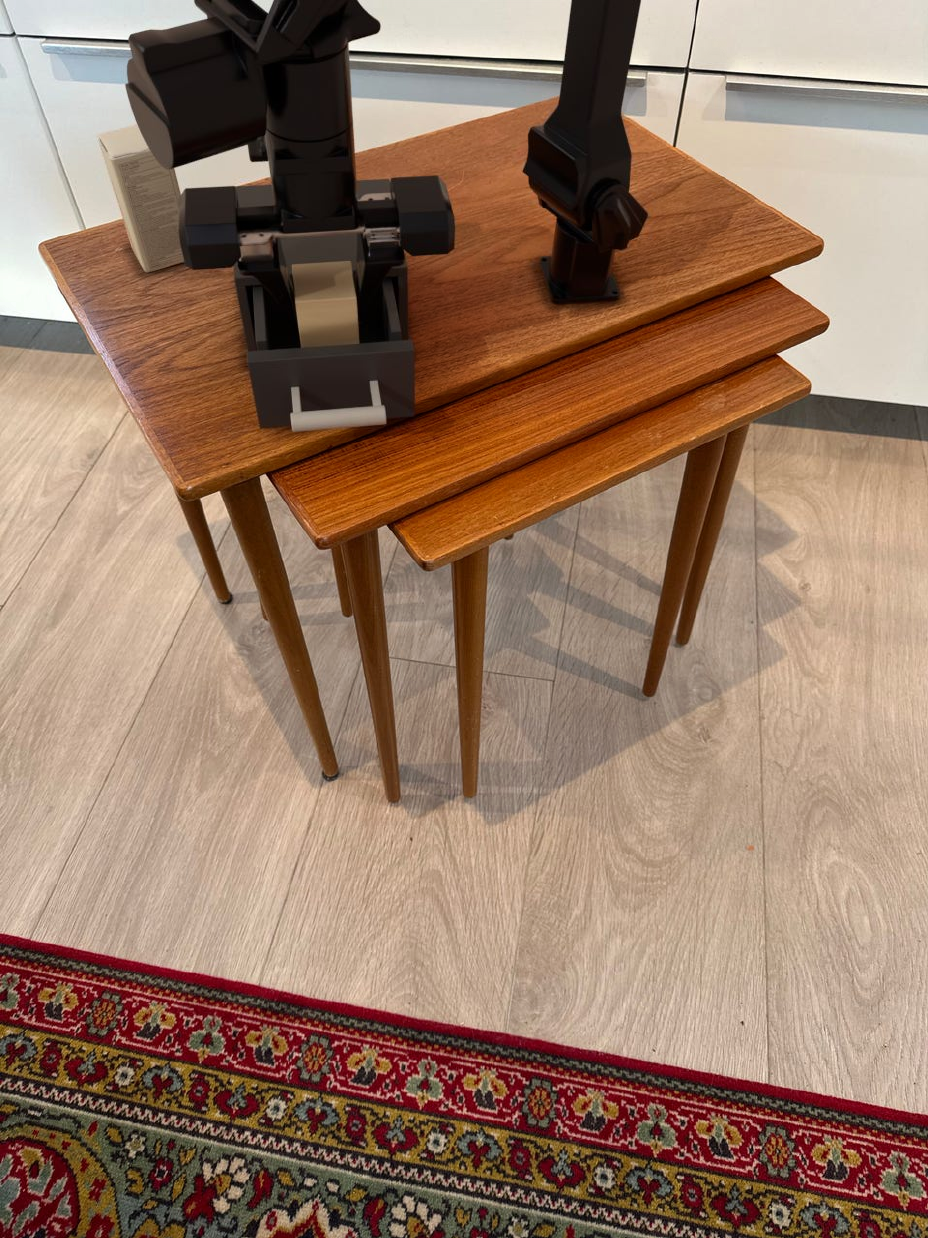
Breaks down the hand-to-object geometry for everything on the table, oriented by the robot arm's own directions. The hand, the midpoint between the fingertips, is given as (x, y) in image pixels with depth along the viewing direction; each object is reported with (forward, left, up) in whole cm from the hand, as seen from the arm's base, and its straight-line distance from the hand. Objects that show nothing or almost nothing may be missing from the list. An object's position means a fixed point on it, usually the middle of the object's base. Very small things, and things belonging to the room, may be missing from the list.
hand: (327, 320), depth 71 cm
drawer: (-1, 0, -6) cm, 6 cm away
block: (0, 0, -1) cm, 1 cm away
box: (+20, +14, -7) cm, 26 cm away
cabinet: (+10, 0, -7) cm, 12 cm away
